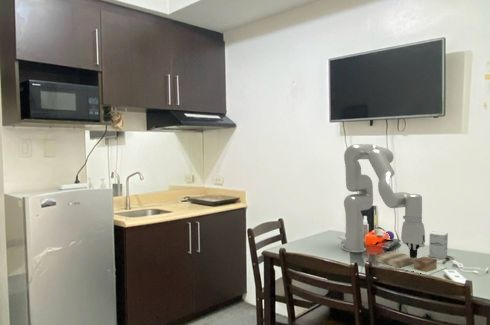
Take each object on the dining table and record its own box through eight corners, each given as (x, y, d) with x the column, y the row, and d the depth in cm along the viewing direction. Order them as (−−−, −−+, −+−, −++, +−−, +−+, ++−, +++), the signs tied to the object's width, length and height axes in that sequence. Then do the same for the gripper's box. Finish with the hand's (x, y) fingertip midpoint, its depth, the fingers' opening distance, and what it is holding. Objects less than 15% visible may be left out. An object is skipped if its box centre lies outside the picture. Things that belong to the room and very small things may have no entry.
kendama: (367, 237, 234) (386, 230, 246) (370, 247, 234) (388, 239, 246) (376, 237, 229) (394, 230, 242) (378, 247, 229) (396, 239, 241)
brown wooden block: (426, 262, 177) (426, 272, 177) (436, 259, 182) (436, 268, 182) (413, 259, 182) (413, 268, 182) (424, 256, 187) (424, 265, 187)
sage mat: (400, 268, 183) (400, 268, 183) (420, 262, 194) (420, 261, 194) (426, 275, 173) (426, 274, 173) (446, 268, 183) (446, 267, 183)
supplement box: (428, 257, 203) (428, 233, 203) (432, 254, 209) (433, 230, 208) (444, 259, 198) (444, 235, 198) (447, 256, 204) (448, 232, 204)
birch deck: (376, 261, 196) (376, 255, 196) (391, 256, 204) (391, 251, 204) (401, 267, 185) (401, 261, 185) (417, 262, 193) (417, 256, 193)
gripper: (395, 218, 190) (394, 255, 191) (424, 222, 178) (424, 262, 179) (403, 216, 195) (403, 253, 195) (432, 220, 183) (432, 259, 183)
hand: (413, 257), depth 187 cm, fingers closed
